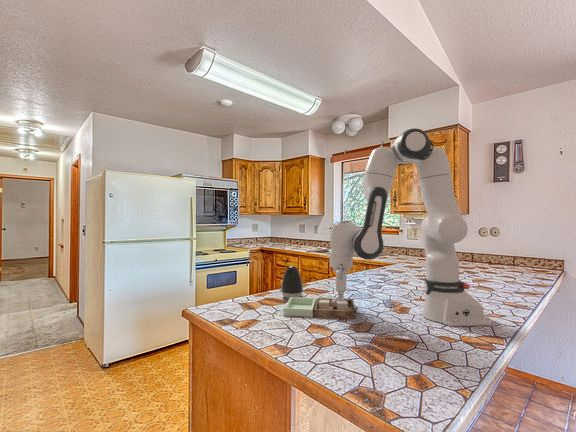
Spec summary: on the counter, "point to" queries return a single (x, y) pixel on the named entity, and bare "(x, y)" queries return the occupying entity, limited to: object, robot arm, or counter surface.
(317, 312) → the walnut crate
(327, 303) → the beige cube
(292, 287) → the black rounded cone
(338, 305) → the small beige block
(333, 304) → the round pebble
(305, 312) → the green tray
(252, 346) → the counter surface
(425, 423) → the counter surface
